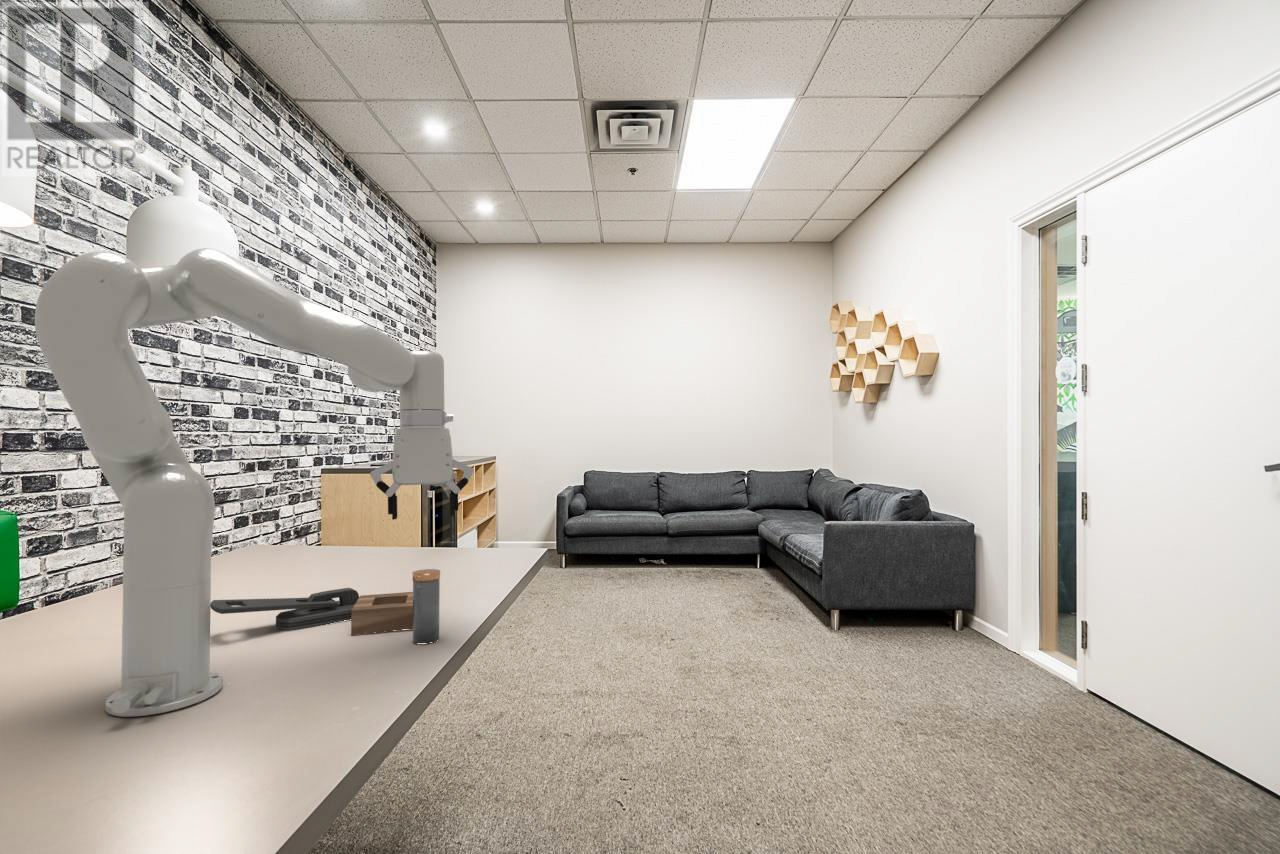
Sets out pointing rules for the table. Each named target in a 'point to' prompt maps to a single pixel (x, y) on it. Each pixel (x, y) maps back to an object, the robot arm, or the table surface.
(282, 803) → the table surface
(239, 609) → the zipper pull
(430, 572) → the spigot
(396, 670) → the table surface
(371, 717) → the table surface
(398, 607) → the socket block
